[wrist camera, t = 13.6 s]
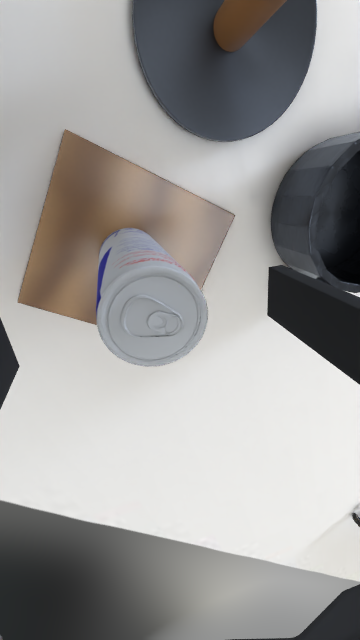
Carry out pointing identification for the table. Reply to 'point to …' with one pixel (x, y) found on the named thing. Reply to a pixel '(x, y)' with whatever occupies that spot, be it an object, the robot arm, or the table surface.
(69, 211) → the cork mat
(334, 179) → the pot
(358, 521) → the person figurine
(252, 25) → the lid
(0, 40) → the table surface
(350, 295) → the robot arm
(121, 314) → the beverage can
